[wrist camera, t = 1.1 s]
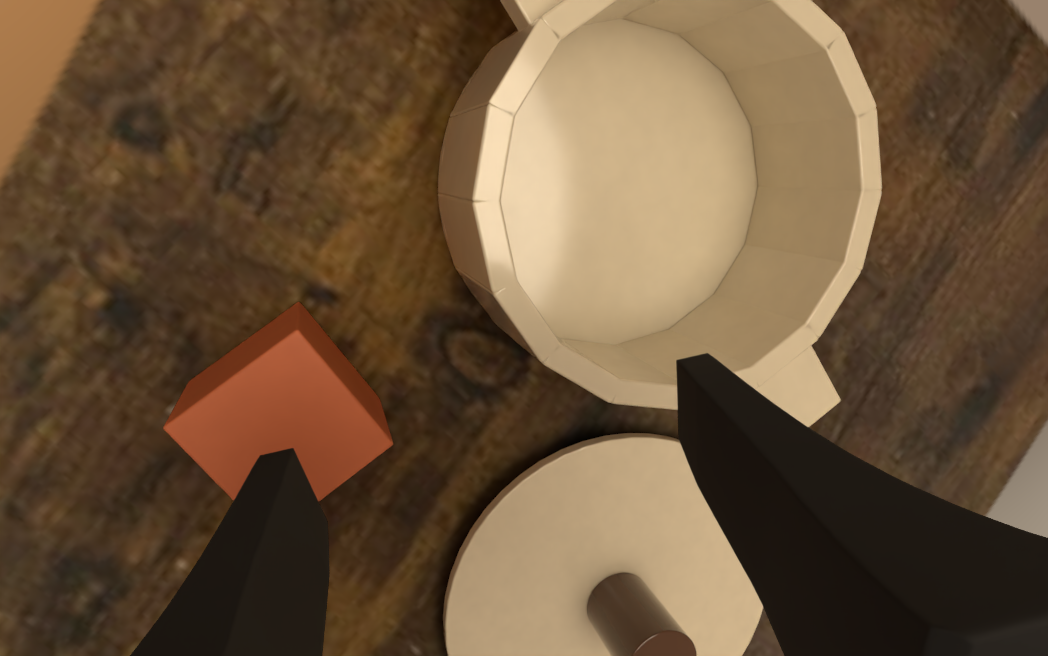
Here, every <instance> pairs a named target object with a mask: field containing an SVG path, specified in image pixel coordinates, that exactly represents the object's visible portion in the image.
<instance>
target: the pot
mask: <svg viewBox="0 0 1048 656" xmlns="http://www.w3.org/2000/svg"><path fill="white" fill-rule="evenodd" d="M500 1H501V3H502V4H503V6H504V8H505V9H506V11H507V13H508V14H509V16H510V18H511V19H512V21H513V23H514V24H515V26H516V28H517V30H516V31H514V32H513V33H512V34H510V35H509V36H507V37H506V38H505V39H503V40H502V41H500V42H499V43H498V44H496V45H495V46H493V47H492V48H491V49H490V50H489V51H488V53H487V54H486V56H485V58H484V59H483V61H482V63H481V64H480V65H479V66H478V68H477V69H476V71H475V72H474V74H473V75H472V76H471V78H470V79H469V81H468V82H467V84H466V85H465V87H464V89H463V91H462V93H461V95H460V97H459V99H458V101H457V103H456V105H455V107H454V109H453V111H452V112H451V114H450V118H449V121H448V126H447V128H446V131H445V136H444V140H443V145H442V150H441V154H440V163H439V174H438V200H439V210H440V216H441V222H442V228H443V232H444V235H445V238H446V242H447V245H448V248H449V252H450V254H451V256H452V260H453V264H454V266H455V267H456V270H457V272H458V273H459V275H460V276H461V277H462V279H463V281H464V282H465V284H466V285H467V287H468V289H469V290H470V292H471V293H472V295H473V296H474V297H475V298H476V299H477V301H478V302H479V303H480V304H481V306H482V307H483V308H484V309H485V311H486V312H487V313H488V315H489V316H490V318H491V319H492V320H493V322H494V323H495V324H496V325H497V326H498V327H499V328H501V329H502V330H503V331H504V332H505V333H507V334H508V335H509V336H510V337H511V338H512V339H514V340H515V341H516V342H517V343H518V344H519V345H521V346H522V347H523V348H524V349H525V350H527V351H528V352H529V353H530V354H531V355H532V356H534V357H535V358H536V359H537V360H538V361H540V362H541V363H542V364H543V365H544V366H546V367H548V368H550V369H551V370H553V371H555V372H556V373H558V374H560V375H562V376H563V377H565V378H567V379H568V380H570V381H572V382H574V383H575V384H577V385H579V386H581V387H582V388H584V389H586V390H587V391H589V392H591V393H593V394H594V395H596V396H598V397H599V398H601V399H603V400H605V401H606V402H608V403H612V404H620V405H630V406H641V407H651V408H661V409H672V410H678V402H677V370H676V360H679V359H683V358H687V357H692V356H696V355H700V354H705V353H709V354H710V355H711V356H713V357H714V358H716V359H717V360H718V361H719V362H721V363H722V364H723V365H724V366H726V367H727V368H728V369H730V370H731V371H732V372H733V373H735V374H736V375H737V376H738V377H740V378H741V379H742V380H744V381H745V382H746V383H747V384H749V385H750V386H751V387H753V388H754V389H755V390H757V391H758V392H759V393H761V394H762V395H763V396H765V397H766V398H767V399H769V400H770V401H771V402H773V403H774V404H776V405H777V406H778V407H780V408H781V409H783V410H784V411H785V412H787V413H788V414H790V415H791V416H793V417H794V418H795V419H797V420H798V421H800V422H801V423H803V424H804V425H806V426H807V427H810V426H811V425H812V424H813V423H815V422H816V421H817V420H818V419H819V418H821V417H822V416H823V415H824V414H826V413H827V412H828V411H829V410H831V409H832V408H833V407H834V406H835V405H837V404H838V403H839V402H840V401H841V400H840V398H839V396H838V394H837V392H836V390H835V388H834V386H833V385H832V383H831V381H830V379H829V377H828V375H827V374H826V372H825V370H824V368H823V366H822V364H821V363H820V361H819V359H818V357H817V355H816V353H815V351H814V350H813V348H812V346H811V345H812V344H813V343H815V342H816V341H817V340H818V338H819V337H820V336H821V335H822V333H823V331H824V330H825V328H826V327H827V325H828V323H829V322H830V320H831V319H832V317H833V316H834V314H835V312H836V311H837V309H838V308H839V306H840V304H841V303H842V301H843V300H844V298H845V297H846V295H847V293H848V292H849V290H850V289H851V287H852V285H853V284H854V282H855V281H856V279H857V278H858V276H859V274H860V272H861V271H860V270H862V268H863V265H864V261H865V257H866V253H867V249H868V245H869V241H870V237H871V233H872V230H873V226H874V222H875V218H876V214H877V210H878V206H879V202H880V198H881V194H882V191H881V189H882V179H881V165H880V150H879V136H878V121H877V110H876V108H875V107H876V103H875V101H874V99H873V96H872V94H871V92H870V90H869V87H868V85H867V83H866V80H865V78H864V76H863V74H862V71H861V69H860V67H859V65H858V62H857V60H856V58H855V55H854V53H853V51H852V49H851V46H850V44H849V42H848V40H847V37H846V35H845V33H844V31H842V29H841V28H840V27H839V26H838V25H837V24H836V23H835V22H834V21H833V20H832V19H830V18H829V17H828V16H827V15H826V14H825V13H824V12H823V11H822V10H821V9H820V8H819V7H818V6H817V5H816V4H815V3H814V2H813V1H811V0H500Z"/></svg>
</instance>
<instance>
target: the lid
mask: <svg viewBox="0 0 1048 656" xmlns="http://www.w3.org/2000/svg"><path fill="white" fill-rule="evenodd" d="M762 610H763V605H762V603H761V601H760V599H759V597H758V595H757V593H756V591H755V589H754V587H753V585H752V583H751V581H750V580H749V578H748V576H747V574H746V572H745V571H744V569H743V567H742V565H741V563H740V562H739V560H738V558H737V556H736V554H735V553H734V551H733V549H732V547H731V545H730V544H729V542H728V540H727V538H726V537H725V535H724V533H723V531H722V529H721V528H720V526H719V524H718V522H717V520H716V519H715V517H714V515H713V513H712V511H711V509H710V508H709V506H708V504H707V502H706V500H705V499H704V497H703V495H702V493H701V491H700V489H699V487H698V486H697V483H696V481H695V478H694V476H693V474H692V471H691V469H690V466H689V464H688V461H687V459H686V456H685V454H684V451H683V449H682V446H681V443H680V441H679V440H678V439H675V438H672V437H668V436H662V435H656V434H649V433H623V434H614V435H606V436H601V437H597V438H593V439H589V440H585V441H582V442H579V443H577V444H574V445H571V446H569V447H566V448H564V449H561V450H559V451H557V452H555V453H553V454H552V455H550V456H548V457H546V458H544V459H542V460H540V461H539V462H537V463H536V464H534V465H533V466H531V467H530V468H529V469H527V470H526V471H524V472H523V473H521V474H520V475H519V476H518V477H516V478H515V479H514V480H513V481H512V482H511V483H510V484H508V485H507V486H506V487H505V488H504V489H503V490H502V491H501V492H500V493H499V494H498V495H497V496H496V497H495V498H494V499H493V501H492V502H491V503H490V504H489V505H488V506H487V507H486V508H485V510H484V511H483V512H482V514H481V515H480V517H479V518H478V519H477V521H476V522H475V524H474V525H473V527H472V528H471V529H470V531H469V533H468V535H467V537H466V539H465V541H464V542H463V544H462V546H461V548H460V550H459V552H458V555H457V557H456V560H455V563H454V565H453V568H452V570H451V573H450V577H449V581H448V585H447V589H446V594H445V602H444V611H443V629H444V641H445V646H446V651H447V656H742V655H743V653H744V651H745V650H746V648H747V646H748V644H749V643H750V641H751V639H752V636H753V634H754V632H755V629H756V627H757V625H758V623H759V619H760V616H761V613H762Z"/></svg>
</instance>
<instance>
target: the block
mask: <svg viewBox="0 0 1048 656" xmlns="http://www.w3.org/2000/svg"><path fill="white" fill-rule="evenodd" d="M163 428H164V430H165V431H166V432H167V433H168V434H169V435H170V436H171V437H172V438H173V439H174V440H175V441H176V442H177V443H178V444H179V445H180V446H181V447H182V448H183V449H184V450H185V451H186V452H187V453H188V454H189V455H190V456H191V457H192V459H193V460H194V461H195V462H196V463H197V464H198V465H199V466H200V467H201V468H202V469H203V470H204V471H205V472H206V473H207V474H208V475H209V476H210V477H211V478H212V479H213V480H214V481H215V482H216V483H217V484H218V485H219V486H220V487H221V488H222V489H223V490H224V491H225V492H226V493H227V494H228V495H229V496H230V497H231V498H232V499H233V501H234V499H235V498H236V496H237V494H238V492H239V490H240V489H241V487H242V485H243V483H244V482H245V480H246V478H247V476H248V474H249V473H250V471H251V469H252V467H253V466H254V464H255V462H256V461H257V459H258V458H259V456H260V455H264V454H268V453H273V452H277V451H281V450H286V449H290V448H294V450H295V453H296V455H297V457H298V459H299V461H300V463H301V465H302V468H303V470H304V472H305V474H306V476H307V478H308V480H309V483H310V485H311V487H312V489H313V491H314V493H315V495H316V498H317V500H318V502H319V501H320V500H321V499H323V498H324V497H325V496H327V495H328V494H329V493H331V492H332V491H333V490H334V489H336V488H337V487H338V486H340V485H341V484H342V483H344V482H345V481H346V480H348V479H349V478H350V477H351V476H353V475H354V474H355V473H357V472H358V471H359V470H361V469H362V468H363V467H365V466H366V465H367V464H369V463H370V462H371V461H372V460H374V459H375V458H376V457H378V456H379V455H380V454H382V453H383V452H384V451H386V450H387V449H388V448H389V447H391V446H392V445H393V441H392V437H391V434H390V431H389V428H388V424H387V421H386V418H385V414H384V411H383V408H382V405H381V401H380V398H379V397H378V396H377V395H376V393H375V392H374V391H373V390H372V389H371V387H370V386H369V385H368V384H367V383H366V381H365V380H364V379H363V378H362V376H361V375H360V374H359V373H358V372H357V370H356V369H355V368H354V367H353V366H352V364H351V363H350V362H349V361H348V360H347V358H346V357H345V356H344V355H343V353H342V352H341V351H340V350H339V349H338V347H337V346H336V345H335V344H334V343H333V341H332V340H331V339H330V338H329V336H328V335H327V334H326V333H325V332H324V330H323V329H322V328H321V327H320V326H319V324H318V323H317V322H316V321H315V320H314V318H313V317H312V316H311V315H310V313H309V312H308V311H307V310H306V309H305V307H304V306H303V305H302V304H301V303H300V302H298V303H296V304H294V305H293V306H292V307H290V308H289V309H288V310H286V311H285V312H283V313H282V314H281V315H279V316H278V317H277V318H275V319H274V320H272V321H271V322H270V323H268V324H267V325H266V326H264V327H263V328H261V329H260V330H259V331H257V332H256V333H255V334H253V335H252V336H250V337H249V338H248V339H246V340H245V341H244V342H242V343H241V344H239V345H238V346H237V347H235V348H234V349H233V350H231V351H230V352H229V353H227V354H226V355H224V356H223V357H222V358H220V359H219V360H218V361H216V362H215V363H213V364H212V365H211V366H209V367H208V368H207V369H205V370H204V371H202V372H201V373H200V374H198V375H197V376H196V377H194V378H193V379H191V380H190V381H189V382H188V384H187V385H186V387H185V389H184V391H183V393H182V394H181V396H180V398H179V400H178V402H177V403H176V405H175V407H174V409H173V411H172V413H171V414H170V416H169V418H168V420H167V422H166V423H165V425H164V427H163Z"/></svg>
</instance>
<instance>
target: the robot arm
mask: <svg viewBox="0 0 1048 656" xmlns="http://www.w3.org/2000/svg"><path fill="white" fill-rule="evenodd" d="M676 370H677V402H678V434H679V441H680V443H681V446H682V449H683V451H684V454H685V456H686V459H687V461H688V464H689V466H690V469H691V471H692V474H693V476H694V478H695V481H696V483H697V486H698V487H699V489H700V491H701V493H702V495H703V497H704V499H705V500H706V502H707V504H708V506H709V508H710V509H711V511H712V513H713V515H714V517H715V519H716V520H717V522H718V524H719V526H720V528H721V529H722V531H723V533H724V535H725V537H726V538H727V540H728V542H729V544H730V545H731V547H732V549H733V551H734V553H735V554H736V556H737V558H738V560H739V562H740V563H741V565H742V567H743V569H744V571H745V572H746V574H747V576H748V578H749V580H750V581H751V583H752V585H753V587H754V589H755V591H756V593H757V595H758V597H759V599H760V601H761V603H762V605H763V607H764V609H765V612H766V614H767V616H768V619H769V621H770V623H771V626H772V628H773V630H774V633H775V635H776V637H777V639H778V642H779V644H780V646H781V649H782V651H783V653H784V656H1048V538H1046V537H1043V536H1039V535H1036V534H1033V533H1029V532H1026V531H1024V530H1021V529H1018V528H1015V527H1012V526H1010V525H1007V524H1004V523H1001V522H999V521H996V520H993V519H991V518H988V517H985V516H982V515H980V514H977V513H975V512H972V511H970V510H967V509H965V508H962V507H960V506H957V505H955V504H952V503H950V502H948V501H945V500H943V499H941V498H939V497H936V496H934V495H932V494H930V493H927V492H925V491H923V490H921V489H918V488H916V487H914V486H912V485H910V484H908V483H906V482H903V481H901V480H899V479H897V478H895V477H893V476H891V475H889V474H887V473H885V472H884V471H882V470H880V469H878V468H876V467H874V466H872V465H870V464H869V463H867V462H865V461H863V460H861V459H859V458H857V457H855V456H854V455H852V454H850V453H849V452H847V451H845V450H843V449H842V448H840V447H838V446H837V445H835V444H834V443H832V442H830V441H829V440H827V439H826V438H824V437H822V436H821V435H819V434H818V433H816V432H815V431H813V430H812V429H810V428H809V427H807V426H806V425H804V424H803V423H801V422H800V421H798V420H797V419H795V418H794V417H793V416H791V415H790V414H788V413H787V412H785V411H784V410H783V409H781V408H780V407H778V406H777V405H776V404H774V403H773V402H771V401H770V400H769V399H767V398H766V397H765V396H763V395H762V394H761V393H759V392H758V391H757V390H755V389H754V388H753V387H751V386H750V385H749V384H747V383H746V382H745V381H744V380H742V379H741V378H740V377H738V376H737V375H736V374H735V373H733V372H732V371H731V370H730V369H728V368H727V367H726V366H724V365H723V364H722V363H721V362H719V361H718V360H717V359H716V358H714V357H713V356H711V355H710V354H709V353H705V354H700V355H696V356H692V357H687V358H683V359H679V360H676ZM328 586H329V542H328V521H327V519H326V517H325V515H324V513H323V511H322V508H321V506H320V504H319V502H318V500H317V498H316V495H315V493H314V491H313V489H312V487H311V485H310V483H309V480H308V478H307V476H306V474H305V472H304V470H303V468H302V465H301V463H300V461H299V459H298V457H297V455H296V453H295V450H294V448H290V449H286V450H281V451H277V452H273V453H268V454H264V455H260V456H259V458H258V459H257V461H256V462H255V464H254V466H253V467H252V469H251V471H250V473H249V474H248V476H247V478H246V480H245V482H244V483H243V485H242V487H241V489H240V490H239V492H238V494H237V496H236V498H235V499H234V501H233V503H232V505H231V506H230V508H229V510H228V512H227V513H226V515H225V517H224V519H223V520H222V522H221V524H220V525H219V527H218V529H217V530H216V532H215V534H214V535H213V537H212V539H211V540H210V542H209V544H208V545H207V547H206V549H205V550H204V552H203V553H202V555H201V557H200V558H199V560H198V561H197V563H196V565H195V566H194V568H193V569H192V571H191V572H190V574H189V575H188V577H187V578H186V580H185V581H184V583H183V584H182V586H181V587H180V589H179V590H178V592H177V593H176V595H175V596H174V598H173V599H172V600H171V602H170V603H169V605H168V606H167V608H166V609H165V610H164V612H163V613H162V615H161V616H160V617H159V619H158V620H157V621H156V623H155V624H154V625H153V627H152V628H151V629H150V631H149V632H148V633H147V635H146V636H145V637H144V638H143V640H142V641H141V642H140V644H139V645H138V646H137V647H136V649H135V650H134V651H133V652H132V654H131V655H130V656H322V651H323V641H324V630H325V620H326V609H327V597H328Z"/></svg>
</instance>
